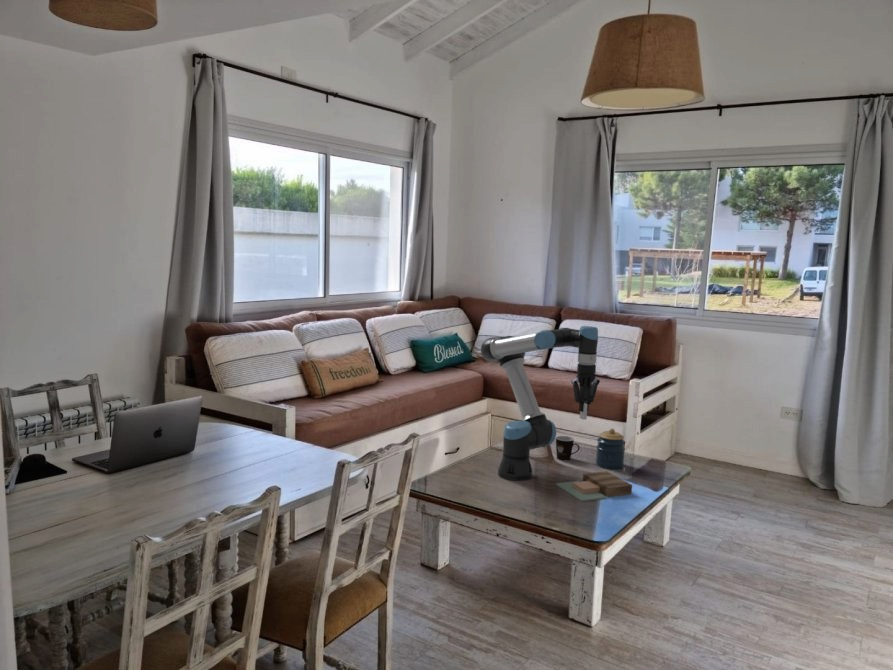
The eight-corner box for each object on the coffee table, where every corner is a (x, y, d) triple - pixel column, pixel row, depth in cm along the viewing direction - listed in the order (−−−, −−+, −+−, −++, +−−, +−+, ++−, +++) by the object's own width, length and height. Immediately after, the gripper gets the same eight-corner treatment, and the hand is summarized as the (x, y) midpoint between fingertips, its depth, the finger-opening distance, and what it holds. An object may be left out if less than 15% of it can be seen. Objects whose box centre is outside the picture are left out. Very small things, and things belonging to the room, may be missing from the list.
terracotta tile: (572, 487, 290) (572, 482, 290) (588, 485, 293) (588, 480, 293) (583, 493, 282) (583, 489, 282) (599, 491, 286) (599, 487, 285)
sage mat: (555, 484, 294) (555, 483, 294) (579, 481, 298) (579, 480, 298) (581, 501, 275) (581, 500, 275) (606, 498, 280) (606, 496, 280)
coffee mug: (550, 456, 332) (552, 436, 331) (565, 455, 336) (567, 435, 335) (564, 464, 322) (566, 443, 321) (579, 462, 326) (581, 441, 324)
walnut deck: (582, 482, 298) (583, 473, 297) (605, 479, 302) (606, 471, 302) (607, 497, 281) (607, 487, 281) (631, 494, 286) (632, 485, 285)
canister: (591, 466, 321) (594, 429, 318) (599, 459, 332) (602, 423, 330) (619, 471, 315) (622, 434, 312) (626, 464, 326) (629, 427, 324)
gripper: (578, 365, 281) (574, 421, 284) (605, 364, 286) (601, 420, 289) (568, 362, 287) (565, 417, 291) (594, 361, 292) (591, 415, 296)
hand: (583, 418), depth 290 cm, fingers closed
